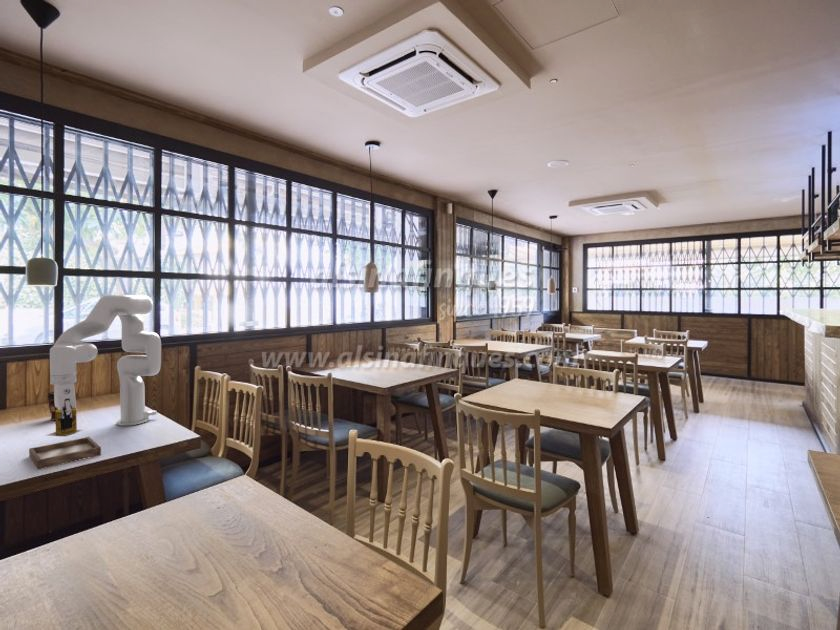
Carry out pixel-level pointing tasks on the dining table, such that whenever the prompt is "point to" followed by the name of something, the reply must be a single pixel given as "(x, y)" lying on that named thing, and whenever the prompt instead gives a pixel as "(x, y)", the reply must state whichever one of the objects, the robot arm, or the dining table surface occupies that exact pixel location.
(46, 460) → the tray
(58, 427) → the condiment
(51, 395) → the coffee cup
